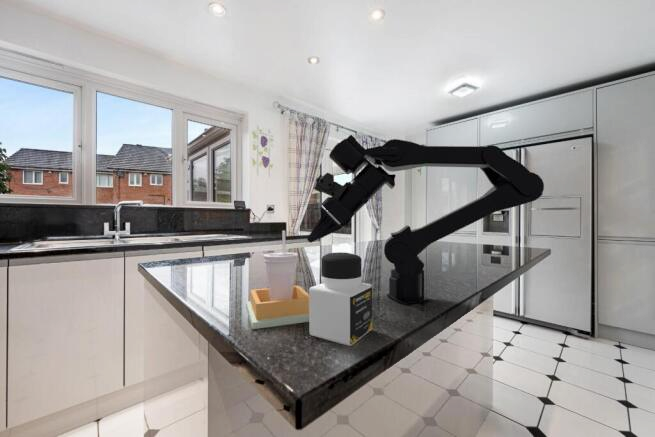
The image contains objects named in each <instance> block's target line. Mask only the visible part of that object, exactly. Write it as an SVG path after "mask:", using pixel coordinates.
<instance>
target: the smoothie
mask: <svg viewBox="0 0 655 437" xmlns="http://www.w3.org/2000/svg"><path fill="white" fill-rule="evenodd" d="M281 232H282V233H281V234H282V238H281V239H282V249H281V250H282V251H281V252H278V251H277V252H276V251H275V252H268V253H264V254H263V256H262V258H263V259H262V260H263V261H262V262H264V264H265V265H264V266H265V273H266V280H267V281H266V282H267V287H268V290H269V298H270V301H278V300H287V299H292V296H293V287H294V286H295V277H296V270H297V261H298V260H299V254H298V253H296V252H290V251H289V252H288V251H287V252H286V230H282V231H281Z"/></svg>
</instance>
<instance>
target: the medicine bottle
mask: <svg viewBox="0 0 655 437" xmlns="http://www.w3.org/2000/svg"><path fill="white" fill-rule="evenodd" d="M362 278H363V277H362V258H361V256H360V255H359V254H357V253H353V252H340V251H339V252H329V253H327V254H325V255H323V256H322V257H321V281H322V282H321V283H319V284H316V285H314V286H311V287H309V293H308V294H309V322H308V324H309V327H308V328H309V329H308V330H309V335H310V336H312V337H316V338H319V339H323V340H326V341H330V342H334V343H337V344H341V345H343V346H347V347H351V346H353V345H355V343H357V342H358V341H359V340H361V338H363V337H364V336H365V335H367V334H368V333H369V332H370V331H372V329H373V285H372V284H371V283H364V282H362Z"/></svg>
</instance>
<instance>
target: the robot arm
mask: <svg viewBox="0 0 655 437" xmlns="http://www.w3.org/2000/svg"><path fill="white" fill-rule="evenodd" d="M328 158H330V160H332V162H333V163H334V164H336V165H337V166H338V167H339V168H340V169H341V170H342V171H343V172H344V173H345V174H346V175H350V174H353V175H355V177H354V178H352V179H351V180H350V181H346V182H345V183H344V184H343V185H342V184H341V183H338V182H337V181H335V176H334V174H332V173H330V172H325V174H323V175H322V174H319V175H318V177H317V178H316V180H315V183H314V185H313V189H314V190H315V191H316V192H319V193H323V194H326V195H328V196H327V197H326V198H325V199H324V200H323V201H322V202H321V206H320V207H319V209H320V212H319V213H320V218H319V220H318V221H317V222H316V225H315V226H314V227H313V229H312V230H311V232H310V233H309V235H308V236H307V239H306V240H307V241H308V242H309V243H313V242H315V241H317V240H320V239H322V238H324V237H327V236H328V235H331V234H333V233H335V232H337V231H339V230H341V229H343V228H344V227H346V226H347V225H348V224H349V223H350V222H351V221H352V218H353V217H354V216H355V215H356V214H357V213H358V212H359V211H360V210H361V209H362V208H363V207H364V206H365V205H366V204H367V203H368V202H369V201H370V200H371V199H372V197H374V196H375V195H376V194H377V193H378V192H379V191H380V190H381V188H383V187H384V185H386V186H388V188H389V189H391V190H393V189H394V188H395V186H396V182H395V178H396V176H397V175H396V174H389V173H388V172H391V173H392V172H400V171H407V170H412V169H417V168H421V167H438V168H440V167H441V168H479V169H480V170H481V171H482V172H483V174H484V175H485V177H486V178H487V179H488V181H489V182H490V184H491V185H492V187H491V188H490V189H489V190H487V191H486V192H484V194H483V195H482V196H480V197H479V198H476V199H474V200H473V201H471V202H468V203H466V204H464V205H463V206H460V207H458V208H456V209H454V210H453V211H450V212H449V213H447V214H445V215H443V216H441V217H439V218H437V219H434V220H432V221H431V222H429V223H426V224H425V225H423V226H420V227H419V228H414V229H411V226H409V225H406V224H405V225H404V226H403V227H402V228H401V229H400V230H398V231H395V232H390V237H388V238H387V239H386V240H385V242H384V245H383V246H384V249H383V250H384V251H383V253H384V256H385V258H386V260H387V261H388V262H390V263H391V264H393V265H394V268H393V269H390V276H389V277H388V278H389V279H388V283H389V284H388V288H389V289H388V290H389V291H388V292H389V293H386V297H387V298H390V299H392V300H394V301H396V302H399V303H400V304H403V305H409V304H415V303H425V302H430V298H429V297H427V296H425V269H424V267H425V263H424V261H423V260H422V259H421V258H420V257H419V256H418V255H420V254H421V253H422V252H424V250H426V248H428V247H429V246H430V245H431V244H434V243H435V242H437V241H439V240H442V239H443V238H446V237H447V236H449V235H451V234H454V233H456V232H458V231H459V230H462V229H464V228H465V227H468V226H469V225H471V224H474V223H475V222H478V221H479V220H482V219H484V218H486V217H488V216H490V215H492V214H494V213H497V212H500V211H503V210H508V209H511V208H515V207H519V206H521V205H525V204H528V203H529V204H530V203H531V202H534V201H537V200H539V199H540V198H541V197H542V195H543V192H544V189H545V183H544V181H543V179H542V178H541V176H540V175H538V174H537V173H535V172H532V171H530V170H529V169H528V168H527V167H526V166H525V165H523V164H522V163H520V162H519V161H517V160H516V159H514V158H512V157H511V156H509V155H508V154H507V153H505V151H504V150H503V149H501V148H500V147H498V146H497V145H492V144H491V145H486V146H479V145H478V146H474V145H473V146H471V145H470V146H468V145H467V146H466V145H465V146H462V145H461V146H460V145H459V146H458V145H457V146H455V145H454V146H453V145H451V146H450V145H449V146H448V145H446V146H445V145H441V146H440V145H423V144H420V143H416V142H413V141H408V140H403V139H397V138H394V139H389V140H387V141H386V142H384V143H383V144H382V145H380V146H379V145H378V146H372V147H370V148H365V147H364V146H363V145H361V144H360V142H358V141H357V139H356V137H354V135H352V134H349V135H348V136H347V138H344V139H342V140H341V141H340V142H337V143H336V144H335V146H334V147H333V148H332V149H331V151H330V153H329V155H328ZM376 165H377V166H376ZM362 168H363V169H362ZM387 171H388V172H387Z"/></svg>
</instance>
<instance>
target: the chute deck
mask: <svg viewBox="0 0 655 437" xmlns="http://www.w3.org/2000/svg"><path fill="white" fill-rule="evenodd" d="M249 292H250V295H249V297H250V299H249V300H247V301H245V308H246V311H247V312H246V313H247V314H248V318H249V323H250V326H251V329H252V330H257V329H264V328H272V327H279V326H280V327H281V326H287V325H293V324H302V323H309V293H308V292H307V291H305V289H303V288H302V287H301V285H294V287H293V296H292V299H287V300H278V301H270V298H269V290H268V288H267V287H266V288H258V289H257V288H255V289H249Z"/></svg>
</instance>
